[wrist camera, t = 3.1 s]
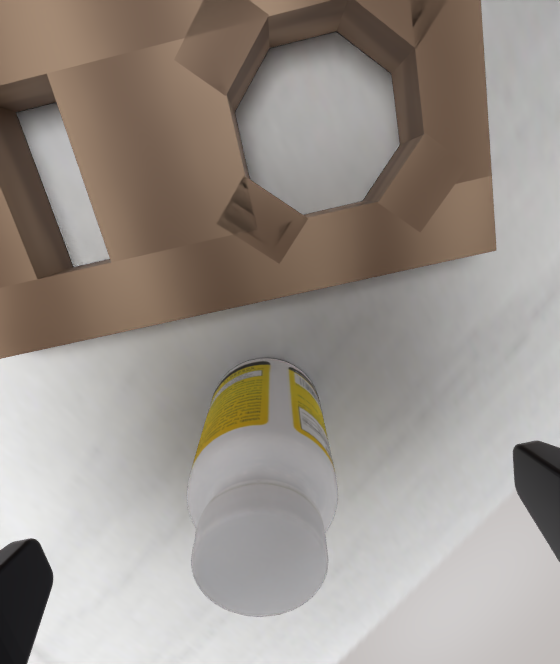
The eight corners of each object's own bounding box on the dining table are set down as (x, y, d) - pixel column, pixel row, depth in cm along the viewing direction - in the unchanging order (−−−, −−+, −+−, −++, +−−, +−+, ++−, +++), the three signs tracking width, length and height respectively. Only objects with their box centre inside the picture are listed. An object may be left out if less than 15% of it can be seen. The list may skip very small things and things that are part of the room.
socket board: (434, -83, 15) (471, -148, 12) (462, 242, 19) (496, 250, 16) (-97, 57, 16) (-174, 28, 14) (24, 339, 20) (-17, 362, 17)
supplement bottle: (201, 436, 22) (146, 614, 12) (228, 342, 20) (188, 464, 11) (300, 462, 22) (317, 651, 13) (334, 372, 21) (381, 513, 11)
